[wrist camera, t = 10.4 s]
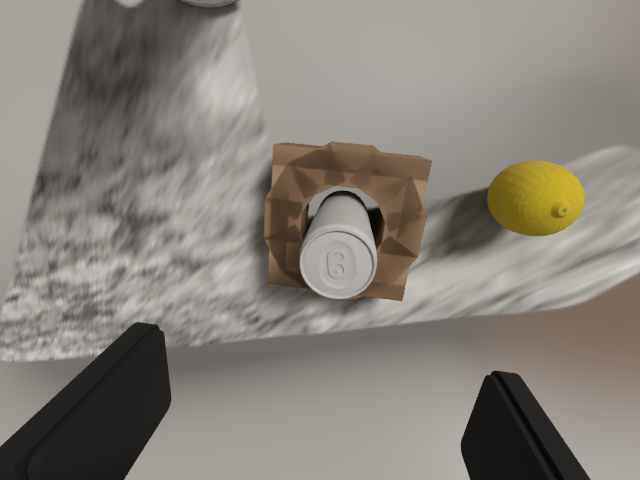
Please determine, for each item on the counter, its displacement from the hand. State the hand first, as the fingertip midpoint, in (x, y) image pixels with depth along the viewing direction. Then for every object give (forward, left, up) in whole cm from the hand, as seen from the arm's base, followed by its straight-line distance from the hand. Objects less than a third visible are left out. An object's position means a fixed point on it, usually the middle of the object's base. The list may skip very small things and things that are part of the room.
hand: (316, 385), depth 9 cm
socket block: (0, 0, -22) cm, 22 cm away
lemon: (-4, +14, -22) cm, 26 cm away
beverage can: (0, 0, -22) cm, 22 cm away
